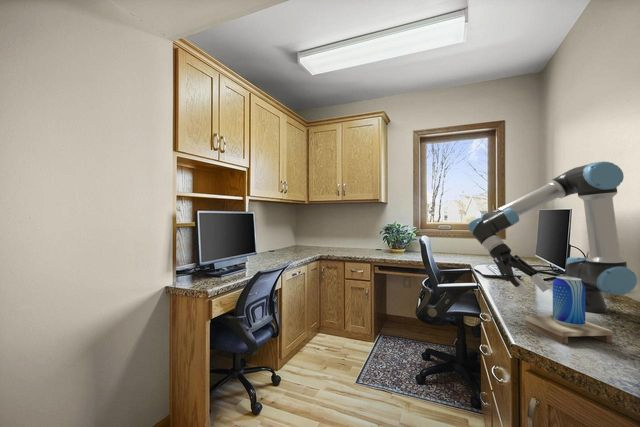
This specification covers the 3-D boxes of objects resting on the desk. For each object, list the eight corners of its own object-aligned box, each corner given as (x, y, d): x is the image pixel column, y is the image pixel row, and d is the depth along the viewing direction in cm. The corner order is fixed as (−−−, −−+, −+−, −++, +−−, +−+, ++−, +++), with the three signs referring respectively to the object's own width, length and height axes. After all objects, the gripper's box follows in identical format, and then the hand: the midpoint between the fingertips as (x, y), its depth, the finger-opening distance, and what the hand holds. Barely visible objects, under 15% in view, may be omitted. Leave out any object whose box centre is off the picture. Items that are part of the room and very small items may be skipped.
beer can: (592, 329, 89) (592, 281, 90) (562, 327, 91) (562, 279, 91) (573, 320, 98) (573, 276, 98) (547, 318, 99) (547, 274, 100)
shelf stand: (569, 325, 103) (569, 315, 103) (612, 342, 89) (612, 330, 89) (525, 326, 101) (525, 316, 101) (562, 344, 87) (562, 331, 87)
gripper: (507, 252, 125) (546, 293, 111) (471, 254, 114) (509, 300, 100) (520, 241, 120) (562, 283, 106) (484, 243, 109) (525, 289, 96)
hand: (536, 291), depth 103 cm, fingers open, 13 cm apart
